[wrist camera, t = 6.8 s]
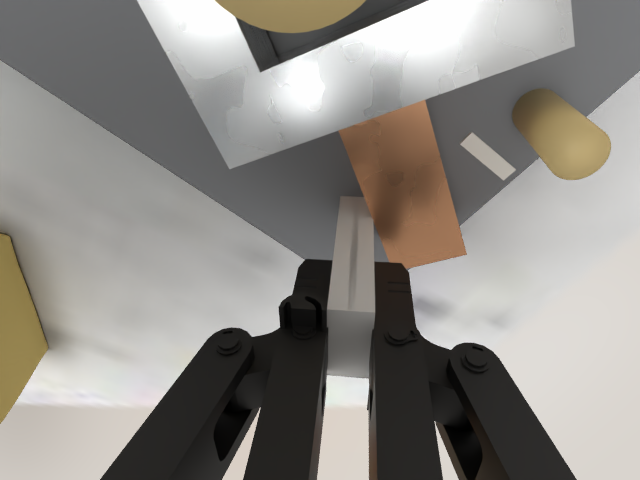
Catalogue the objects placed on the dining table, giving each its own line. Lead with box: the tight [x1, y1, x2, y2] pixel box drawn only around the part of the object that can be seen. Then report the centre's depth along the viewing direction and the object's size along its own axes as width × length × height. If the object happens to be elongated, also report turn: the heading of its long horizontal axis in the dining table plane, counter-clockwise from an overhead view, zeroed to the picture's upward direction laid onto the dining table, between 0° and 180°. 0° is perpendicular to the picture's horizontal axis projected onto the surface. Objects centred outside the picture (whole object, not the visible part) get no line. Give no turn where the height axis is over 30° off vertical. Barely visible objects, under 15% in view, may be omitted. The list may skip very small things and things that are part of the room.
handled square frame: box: [137, 0, 575, 269], centre depth 13 cm, size 17×11×2 cm, turn 22°
